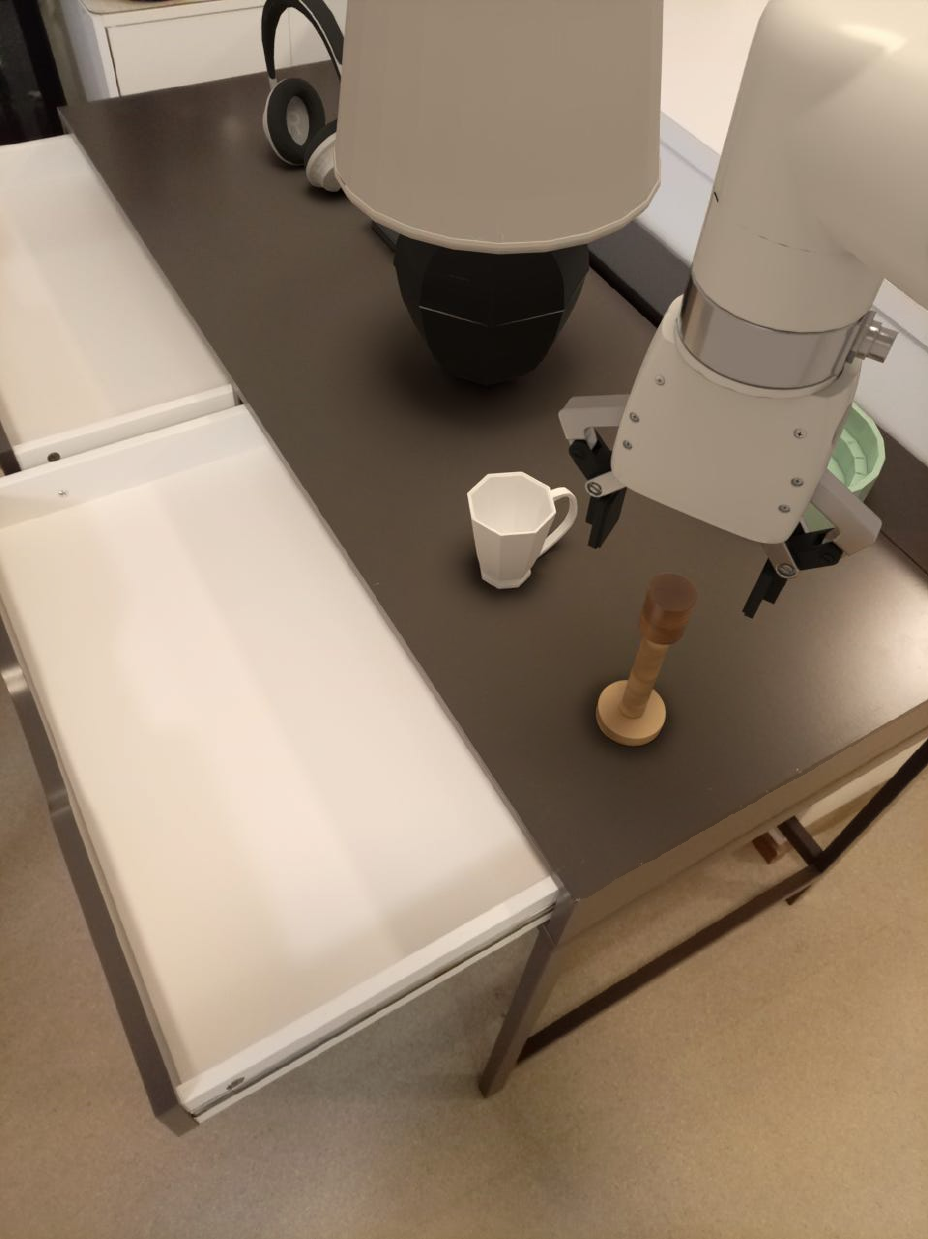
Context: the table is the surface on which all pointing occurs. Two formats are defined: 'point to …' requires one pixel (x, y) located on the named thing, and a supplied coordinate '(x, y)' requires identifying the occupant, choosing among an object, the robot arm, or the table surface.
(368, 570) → the table surface
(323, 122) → the headphones
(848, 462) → the bowl
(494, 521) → the cup
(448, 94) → the table lamp
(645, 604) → the brown long flanged bar
